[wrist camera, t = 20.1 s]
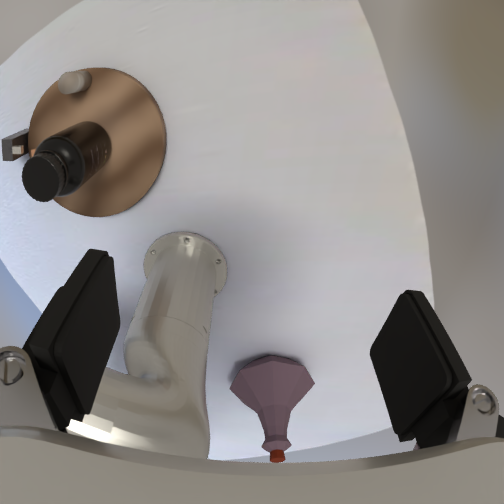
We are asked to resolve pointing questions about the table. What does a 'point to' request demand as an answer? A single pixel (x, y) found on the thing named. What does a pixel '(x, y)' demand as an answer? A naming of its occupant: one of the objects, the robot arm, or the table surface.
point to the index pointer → (15, 145)
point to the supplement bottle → (66, 161)
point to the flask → (273, 397)
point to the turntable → (118, 128)
